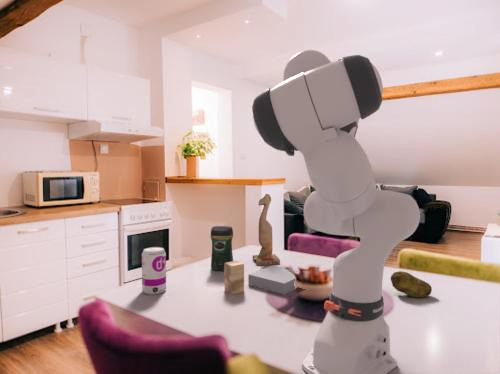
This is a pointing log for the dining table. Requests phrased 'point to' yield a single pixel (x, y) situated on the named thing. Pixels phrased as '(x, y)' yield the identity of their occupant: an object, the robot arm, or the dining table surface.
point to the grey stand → (273, 279)
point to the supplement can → (153, 270)
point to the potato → (410, 284)
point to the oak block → (234, 277)
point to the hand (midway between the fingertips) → (322, 189)
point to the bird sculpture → (265, 237)
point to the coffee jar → (221, 247)
